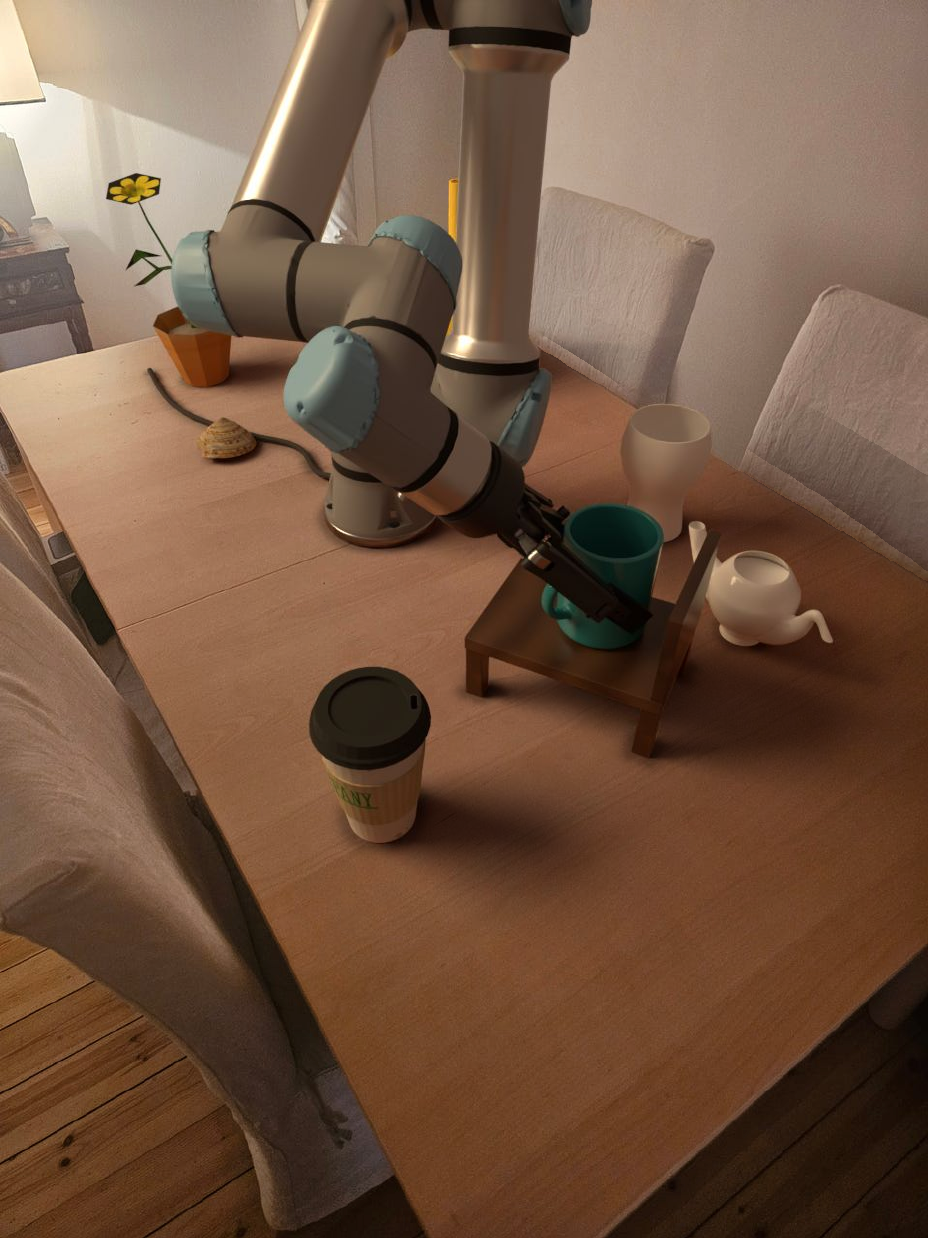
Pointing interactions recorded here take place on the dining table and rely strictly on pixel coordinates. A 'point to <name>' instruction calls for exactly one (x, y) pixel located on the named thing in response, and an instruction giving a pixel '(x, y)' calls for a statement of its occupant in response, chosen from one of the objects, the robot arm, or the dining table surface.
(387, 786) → the coffee cup
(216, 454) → the seashell
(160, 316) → the potted plant
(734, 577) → the teapot
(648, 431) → the cup
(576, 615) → the cup
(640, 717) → the wooden toy chair
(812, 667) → the dining table surface
